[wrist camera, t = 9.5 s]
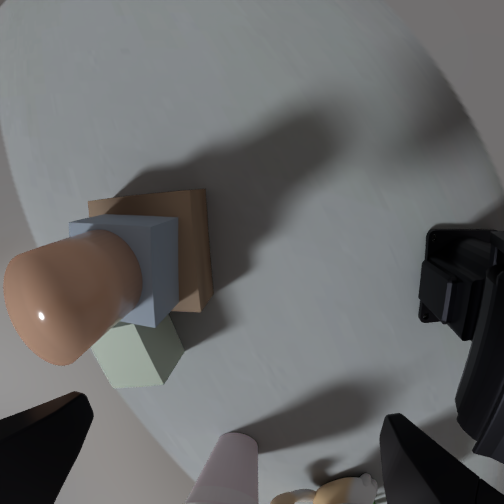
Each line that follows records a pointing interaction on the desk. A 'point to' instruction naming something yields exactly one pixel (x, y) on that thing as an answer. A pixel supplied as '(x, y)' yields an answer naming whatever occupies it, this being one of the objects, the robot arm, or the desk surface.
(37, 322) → the clay cylinder
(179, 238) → the tower base
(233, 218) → the desk surface
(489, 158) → the desk surface
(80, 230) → the tower mid
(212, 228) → the desk surface
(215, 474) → the smoothie
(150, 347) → the block
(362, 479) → the kitten
